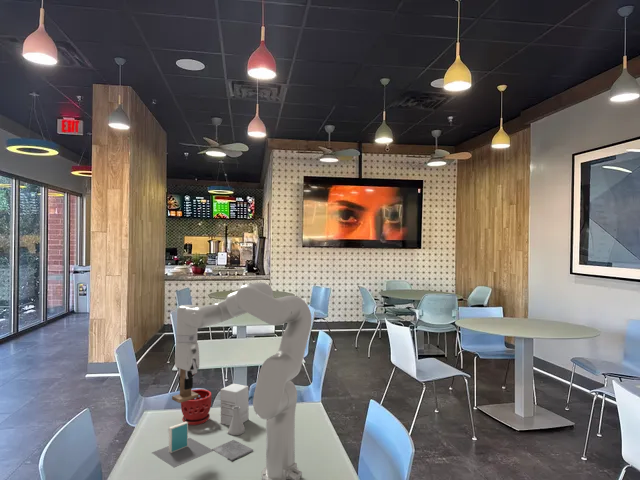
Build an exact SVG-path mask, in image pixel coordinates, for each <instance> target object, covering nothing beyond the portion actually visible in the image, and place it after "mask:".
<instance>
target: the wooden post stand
mask: <svg viewBox="0 0 640 480" xmlns="http://www.w3.org/2000/svg"><path fill="white" fill-rule="evenodd" d="M190 369H191V368H190ZM190 372H191V371H190ZM190 372H188V373H190ZM185 379H186V373H185V370H183V369H181V368H180V387H179V393H178V394H174V395H173V396H171V400H172V401H174V402H176V403H178V404H181V402H184V401H188V400H191V399H196V398H198V397H200V395H199V394H197V393H195V392H193V391H191V390H192V388H190V389H187V390H185V389H184V380H185Z"/></svg>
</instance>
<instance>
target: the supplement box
mask: <svg viewBox="0 0 640 480" xmlns="http://www.w3.org/2000/svg"><path fill="white" fill-rule="evenodd" d="M249 401H250V400H249V386H248V385H243V384H239V383H231V384H229V385H228V386H225V387H223V388H221V389H220V424H223V425H226V426H230V424H231V421H232V417H233V407H237V406H238V407H240V417H241V420H242V423H243V424H244V423H246V422H247V421H248V420H249V405H250V404H249Z"/></svg>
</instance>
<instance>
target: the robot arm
mask: <svg viewBox="0 0 640 480" xmlns="http://www.w3.org/2000/svg"><path fill="white" fill-rule="evenodd" d="M245 314H249V315H251V316H253V317H255V318H256V319H259V320H260V321H262V322H264V323H266V324H268V325H270V326H282V325H285V324H286V323H287V324H286V327H285V330H284V331H283V333H282V335H281V341H280V344H279V348H278V351H277V352H276V353H275V354H273V355H271V356H269V357H267V358H266V359H265V360H264V362H263V363H262V365H261V367H260V369H259V372H258V376H257V381H256V384H255V385H256V386H255V389H254V393H253V397H252V399H253V400H252V407H253V411H254V412H255V414H256V416H257V417H258V418H260V419H262V420H266V426H265V427H266V433H265V437H266V438H265V440H266V441H265V442H266V443H265V445H266V446H265V447H266V448H265V450H266V451H265V452H266V453H265V455H266V456H265V457H266V459H265V460H266V461H265V467H264V468H263V469H262V471H261V479H262V480H300V478H301V476H302V473H303V472H302V471H301V470H300V469H299V467H298V463H297V462H296V461H295V459H296V458H295V456H296V455H295V452H296V450H295V448H296V447H295V446H296V445H295V442H296V441H295V440H296V439H295V436H296V435H295V434H296V433H295V432H296V429H295V428H296V410H297V409H296V408H297V401H298V391H297V390H298V389H297V387H296V385H295V384H294V383H295V382H293V381H292V380H293V379H294V378H296V377H297V376H298V375H299V373H301V369H302V365H303V361H304V356H305V353H306V352H305V351H306V347H307V344H308V339H309V336H310V332H311V329H312V328H311V327H312V319H313V318H312V313H311V310H310V307H309V305H308V304H307V302H305V300H304V299H303V298H301V297H298V296H296V295H285V296H282V297H277V298H276V297H274V291H273V289H272V287H271V286H270V284H268V283H266V282H262V281H260V282H253V283H247V284H244V285H242V286H240V287H239V288H238V289H237V290H236V291H233V292H231V293H229V294H227V295H226V298H225V299H224V300H222V301H219V302H216V303H213V304H209V305H202V306H199V307H198V306H197V305H195V304H183V305H179V306H178V307H177V309H176V340H175V341H176V344H175V353H174V365H175V368H176V369H177V374H178V375H177V376H178V387H179V388H180V368H181V369H183V370H185V373H186V379H185V380H184V389H185V390H187V389H190V388H191V389H193V387H194V377H195V375H197V374H198V370H199V368H200V348H199V344H198V331H199V330H198V329H203V328H206V327H209V326H214V325H217V324H218V325H219V324H220V323H223V322H226V321H228V320H231V319H234V318H237V317H239V316H243V315H245ZM190 368H191V369H190ZM190 371H191V372H190ZM188 372H190V373H188Z"/></svg>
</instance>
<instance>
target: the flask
mask: <svg viewBox="0 0 640 480" xmlns="http://www.w3.org/2000/svg"><path fill="white" fill-rule="evenodd" d="M245 431H246V428H245V425H244V423H242V420H241V417H240V407H238V406H237V407H233V417H232V421H231V424H230V425H229V427H228V430H227V435H230V436H238V435H239V436H240V435H243V434H244V433H245Z"/></svg>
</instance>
